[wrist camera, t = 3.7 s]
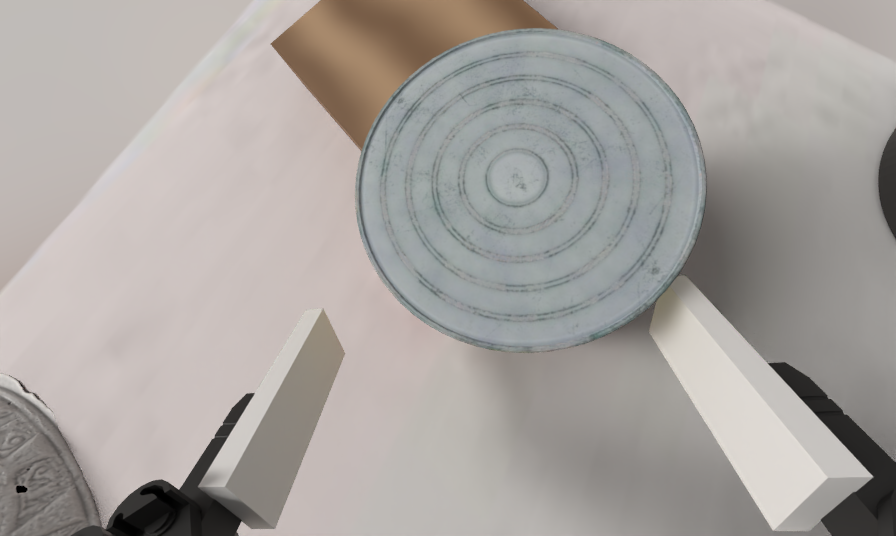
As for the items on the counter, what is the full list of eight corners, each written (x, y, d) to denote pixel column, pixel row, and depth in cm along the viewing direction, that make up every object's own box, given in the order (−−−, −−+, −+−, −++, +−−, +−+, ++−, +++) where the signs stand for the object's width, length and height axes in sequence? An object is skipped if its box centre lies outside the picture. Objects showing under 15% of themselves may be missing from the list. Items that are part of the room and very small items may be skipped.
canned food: (621, 211, 22) (763, 80, 10) (552, 367, 21) (621, 424, 9) (468, 154, 24) (439, -6, 12) (400, 292, 23) (299, 260, 11)
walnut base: (430, -27, 27) (418, -85, 23) (548, 76, 24) (557, 28, 20) (303, 83, 27) (270, 43, 24) (403, 200, 24) (385, 176, 20)
